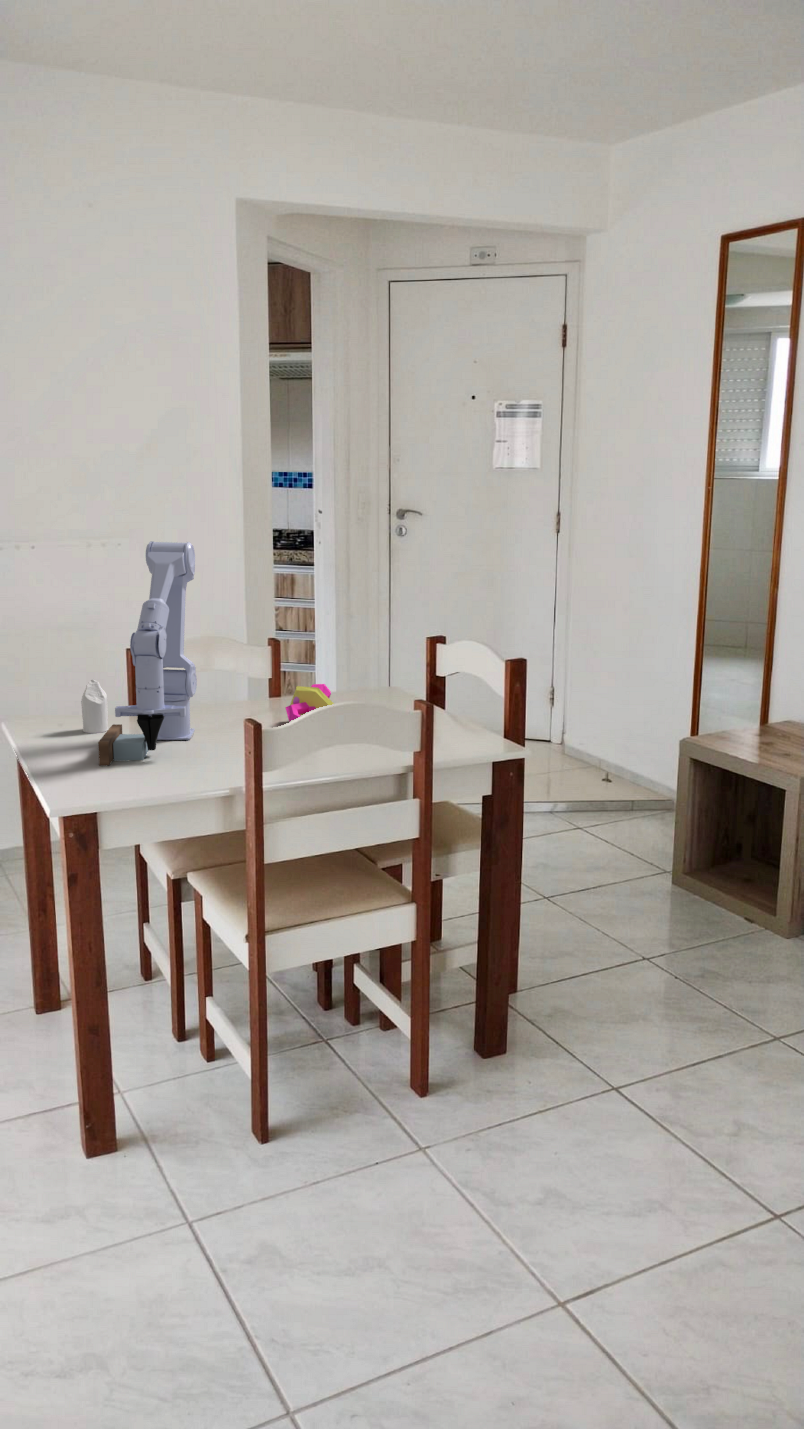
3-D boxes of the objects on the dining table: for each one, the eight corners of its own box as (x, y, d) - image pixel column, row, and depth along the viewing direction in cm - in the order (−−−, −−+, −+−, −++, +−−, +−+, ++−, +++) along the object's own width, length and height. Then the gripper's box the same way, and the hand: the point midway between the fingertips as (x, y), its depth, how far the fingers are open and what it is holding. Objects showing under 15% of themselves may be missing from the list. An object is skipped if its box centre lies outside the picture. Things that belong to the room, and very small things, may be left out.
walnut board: (113, 746, 248) (112, 724, 247) (122, 746, 248) (121, 724, 247) (99, 765, 232) (98, 742, 231) (109, 765, 232) (108, 742, 231)
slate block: (120, 752, 244) (119, 734, 243) (148, 752, 244) (148, 734, 243) (113, 761, 236) (113, 743, 235) (142, 761, 237) (142, 743, 236)
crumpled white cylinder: (89, 683, 256) (74, 680, 259) (91, 734, 258) (77, 730, 262) (111, 679, 260) (97, 676, 264) (113, 730, 263) (99, 726, 266)
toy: (272, 731, 268) (284, 697, 262) (299, 696, 283) (311, 663, 277) (310, 749, 268) (323, 715, 262) (335, 713, 282) (348, 680, 277)
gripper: (111, 690, 233) (114, 754, 236) (182, 690, 234) (183, 753, 237) (117, 684, 240) (120, 745, 243) (186, 684, 241) (187, 745, 244)
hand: (151, 749), depth 240 cm, fingers closed
